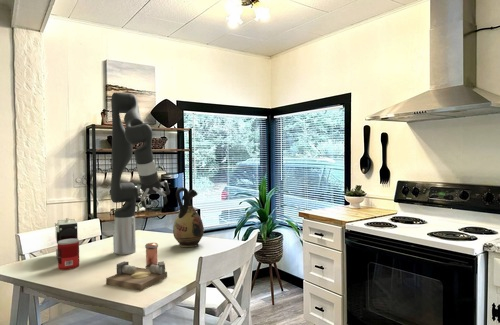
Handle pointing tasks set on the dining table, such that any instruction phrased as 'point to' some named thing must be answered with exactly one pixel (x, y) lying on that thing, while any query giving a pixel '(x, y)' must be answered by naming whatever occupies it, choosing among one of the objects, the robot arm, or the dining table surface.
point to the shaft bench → (137, 276)
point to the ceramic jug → (187, 221)
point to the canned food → (68, 254)
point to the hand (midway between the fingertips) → (155, 205)
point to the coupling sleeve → (151, 254)
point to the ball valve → (66, 230)
